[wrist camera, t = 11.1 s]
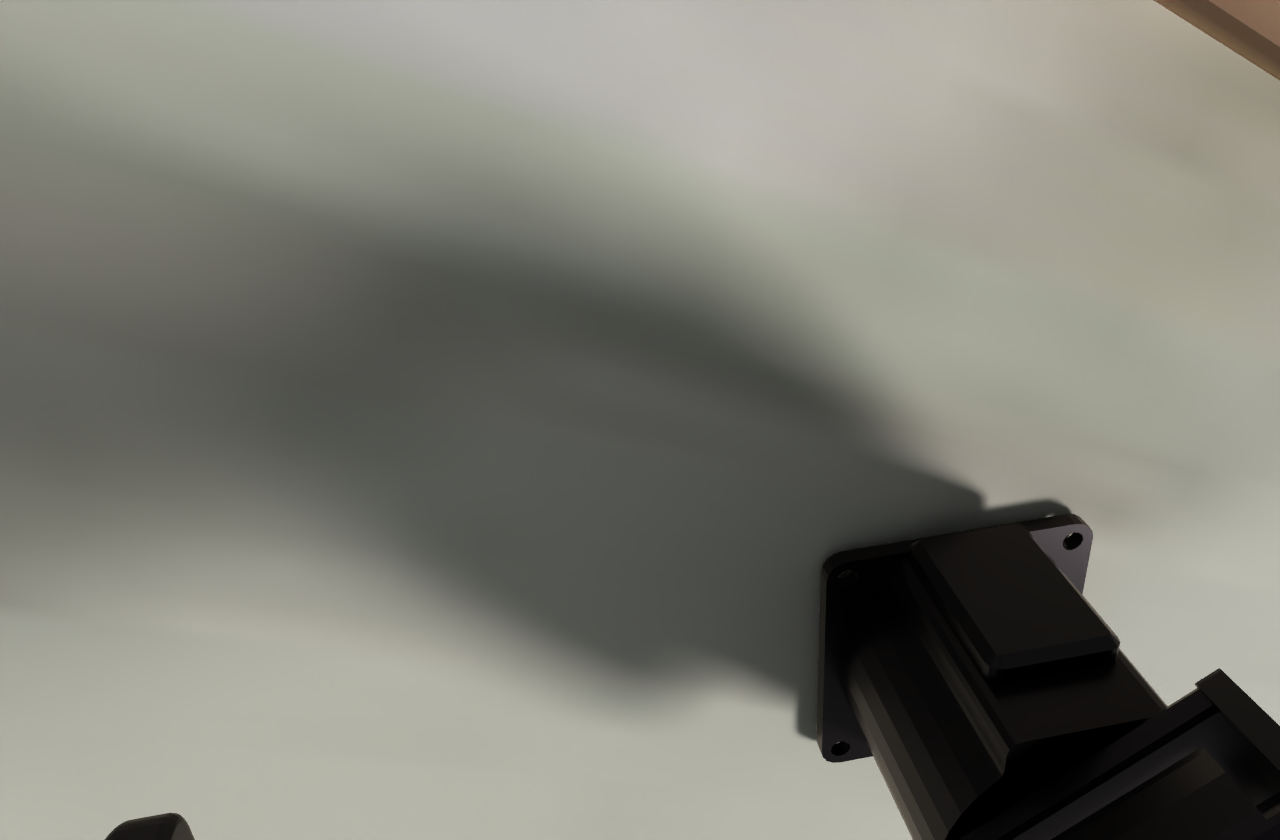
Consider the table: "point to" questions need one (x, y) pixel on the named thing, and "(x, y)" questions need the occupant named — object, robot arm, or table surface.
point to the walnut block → (1237, 26)
